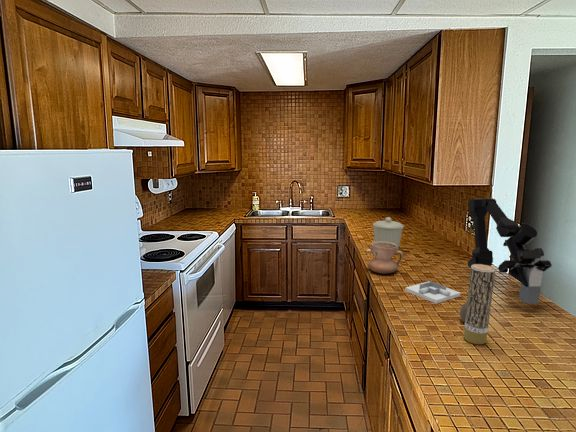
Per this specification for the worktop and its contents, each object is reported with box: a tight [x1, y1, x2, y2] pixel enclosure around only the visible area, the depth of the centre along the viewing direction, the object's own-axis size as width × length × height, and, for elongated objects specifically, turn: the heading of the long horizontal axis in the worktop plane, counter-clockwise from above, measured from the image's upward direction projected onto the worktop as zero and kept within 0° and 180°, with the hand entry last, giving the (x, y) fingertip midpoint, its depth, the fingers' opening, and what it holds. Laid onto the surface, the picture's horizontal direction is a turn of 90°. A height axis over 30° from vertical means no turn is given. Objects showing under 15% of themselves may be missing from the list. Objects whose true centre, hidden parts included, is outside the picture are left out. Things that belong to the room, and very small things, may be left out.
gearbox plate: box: [404, 280, 462, 305], centre depth 164 cm, size 16×16×4 cm
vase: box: [459, 301, 467, 324], centre depth 137 cm, size 7×7×9 cm
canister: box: [372, 216, 405, 251], centre depth 228 cm, size 18×18×21 cm
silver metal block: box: [518, 267, 544, 305], centre depth 146 cm, size 5×5×13 cm
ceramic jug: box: [366, 241, 404, 275], centre depth 191 cm, size 18×14×14 cm
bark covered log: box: [463, 264, 496, 345], centre depth 123 cm, size 7×7×25 cm
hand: (533, 286), depth 145 cm, fingers closed on silver metal block, 5 cm apart
